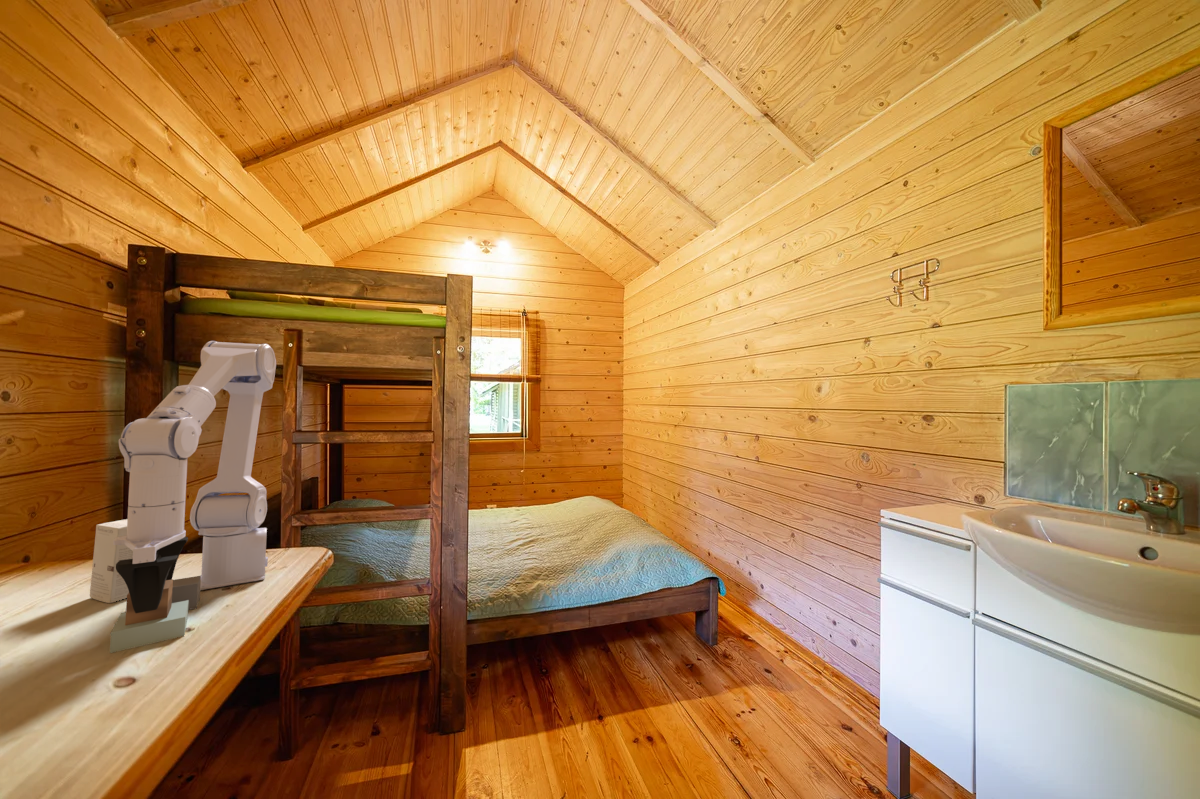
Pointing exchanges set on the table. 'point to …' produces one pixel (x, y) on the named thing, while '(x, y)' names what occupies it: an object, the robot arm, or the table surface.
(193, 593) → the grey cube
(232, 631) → the table surface
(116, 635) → the base block
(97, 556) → the skincare box
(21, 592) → the table surface
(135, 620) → the walnut cube
